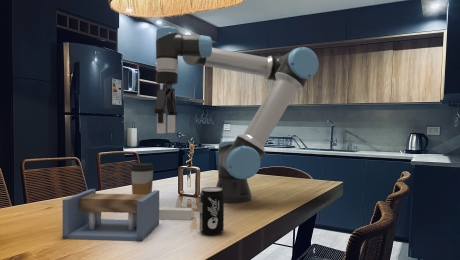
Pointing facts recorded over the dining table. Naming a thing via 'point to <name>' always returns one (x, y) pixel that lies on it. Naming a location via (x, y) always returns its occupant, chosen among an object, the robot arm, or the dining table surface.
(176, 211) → the block
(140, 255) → the dining table surface
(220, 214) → the beverage can
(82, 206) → the walnut board
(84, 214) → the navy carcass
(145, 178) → the coffee cup
